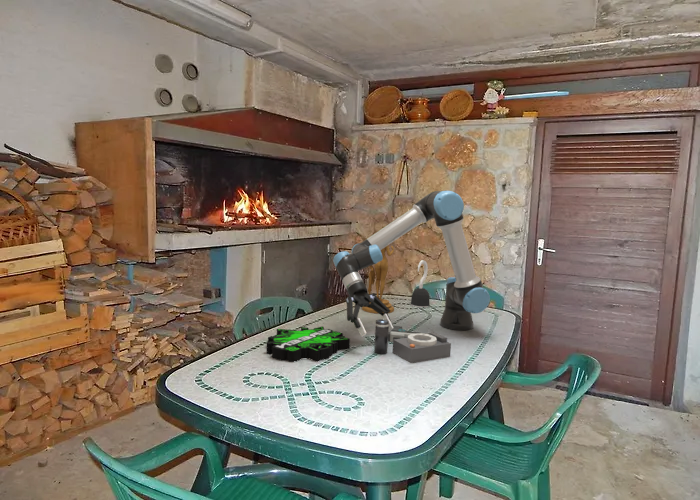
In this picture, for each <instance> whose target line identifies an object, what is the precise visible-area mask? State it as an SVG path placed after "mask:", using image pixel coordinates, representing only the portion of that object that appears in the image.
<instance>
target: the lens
mask: <svg viewBox="0 0 700 500" xmlns="http://www.w3.org/2000/svg"><path fill="white" fill-rule="evenodd" d="M374 325H375V329H374V347H373V348H374V351H373V352H374V353H375V354H377V355H386V354H388V347H389V346H388V345H389V341H388V331H389V321H387V320H382V319H376V320H375V323H374Z"/></svg>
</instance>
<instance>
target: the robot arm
mask: <svg viewBox="0 0 700 500" xmlns="http://www.w3.org/2000/svg"><path fill="white" fill-rule="evenodd" d="M464 205H465V204H464V201H463V198H462V197H461V196H460V194H458V193H457V192H454V191H452V190H435V191H432V192H430V193H428V194H427V195H425V196H424V197H422V198H421V199H420V200H418V201H417V202H415V203H414V204H412V208H410V209H409V210H407V211H406V212H405V213H403V214H402V215H400V216H398V217H397V218H395V219H394V220H393V221H391V222H390V223H388V224H387V225H386V226H384V227H383V228H381V229H380V230H378V231H377V232H375V233H374V234H372V235H371V236H369V237H368V238H366V239H365V240H363V241H362V242H360V243H356V244H354V245H353V247H352V248H351V253H349V251H347V250H346V251H345V250H344V251H339V252H337V254H335V255H334V256H333V260H332V262H333V264H334V266H335V269H336V271H337V273H338V276H339V277H340V279H341V281H342V284H343V285H344V288H345V289H346V292H347V294H348V296H347V298H346V299H345V303H346V320H347V322H350V323H352V324H354V327H355V328H356V329H357V330H358V333H359V334H360V337H361V338H363V337H364V336H365V335H366V334H367V331H366V329H365V327H364V324H363V322H362V320H361V318H360V317H359V312H360V308H362V307H369V308H372V309H373V310H375V311H376V312H377V313H376V314H379V315H380V316H381V320H387V321H389V332H390V331H391V330H392V329H393V326H394V325H393V324H392V322H391V320H392V319H390V316H389V315H388V314H390V313H389V312H390V309H389V308H388V307H387V306H386V305H385V304H384V303H382V302H381V301H380V300H379V299H378V298H377V294H376V293H375V292H373V293H372V294H369V292H368V288H367V286H366V284H365V282H364V280H363V278H362V277H361V274H360V272H359V271H362V270H363V269H366V268H368V267H369V268H370V266H371V265H372V266H374V265H375V264H377V263H378V262H380V261H382V259H383V256H382V253H381V251H380V250H382V249H383V248H385V247H386V246H388V245H390V244H392V243H394V242H395V241H397V240H398V239H399V238H401V237H403V236H404V235H405V234H407V233H408V232H410V231H411V230H413V229H414V228H416V227H417V226H419V225H420V224H421V223H423V224H426V223H427V222H428V221H430V220H433V219H434V223H435V226H436V227H437V228H438V229H440V230H441V232H442V236H443V239H444V244H445V247H446V251H447V253H448V257H449V260H450V264H451V267H452V271H453V274H454V276H450V277H449V276H448V278H447V279H446V283H445V286H446V287H445V299H444V300H445V302H444V303H445V304H444V310H443V312H442V315H441V317H440V321H439V325H440V326H441V327H442V328H446V329H450V330H454V331H455V330H456V331H470V330H472V329H474V320H473V316H472V314H480V313H482V312H483V311H485V310H486V309H487V308H488V305H490V303H491V302H490V301H491V297H490V293H489V292H488V290H487V289H486V288H484V286H483V283H482V279H481V277H479V276H477V275H476V271H475V267H474V264H473V261H472V257H471V253H470V251H469V247H468V241H467V239H466V236H465V235H466V234H465V232H464V227H463V225H462V223H463V220H464V215H463V211H464V210H465V209H464V207H465V206H464ZM370 302H371V303H370ZM369 303H370V304H369ZM353 305H354V306H353Z"/></svg>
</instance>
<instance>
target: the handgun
mask: <svg viewBox="0 0 700 500" xmlns="http://www.w3.org/2000/svg"><path fill="white" fill-rule="evenodd" d="M392 326H393V329H392V330H391V331H390V332H389V331H388V342H390V343H393V340H394V339H401V338H408V335H410V334H416V333H419V334H428V335H429V333H430V332H419V331H410V330H409V331H408V330H407V329H403V326H395V325H392Z"/></svg>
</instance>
